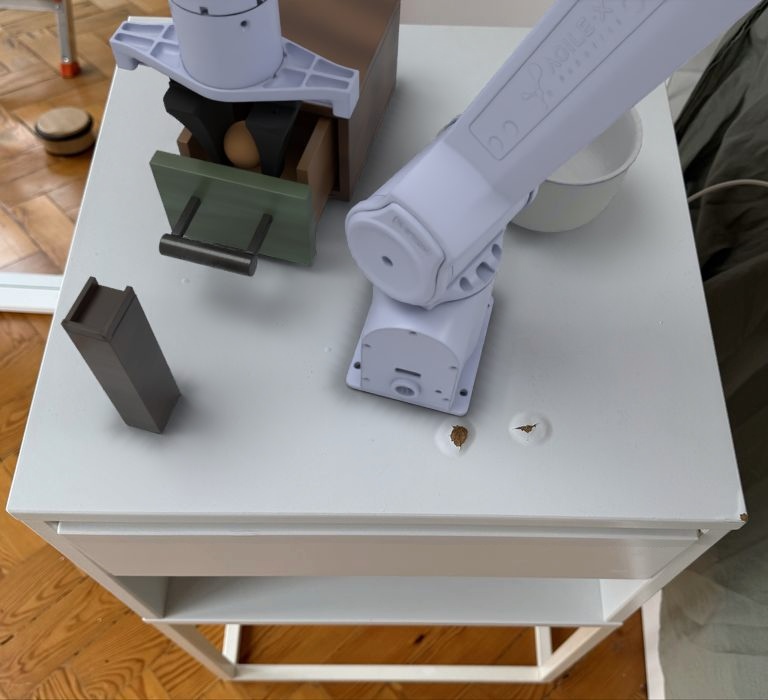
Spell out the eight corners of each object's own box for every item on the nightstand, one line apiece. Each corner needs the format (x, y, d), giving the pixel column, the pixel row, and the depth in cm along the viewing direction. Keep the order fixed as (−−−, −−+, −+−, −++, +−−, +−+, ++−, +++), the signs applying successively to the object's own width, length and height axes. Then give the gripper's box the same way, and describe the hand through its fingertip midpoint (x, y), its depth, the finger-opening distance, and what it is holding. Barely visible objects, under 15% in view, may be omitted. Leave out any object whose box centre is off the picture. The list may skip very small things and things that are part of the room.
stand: (161, 434, 45) (105, 335, 35) (125, 424, 45) (60, 323, 35) (181, 393, 46) (133, 286, 36) (146, 383, 47) (89, 275, 37)
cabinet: (349, 202, 55) (348, 112, 47) (205, 168, 56) (182, 75, 49) (396, 85, 62) (401, -9, 54) (266, 58, 63) (254, -38, 56)
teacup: (605, 154, 58) (639, 71, 51) (614, 262, 53) (652, 184, 46) (432, 138, 59) (442, 52, 52) (423, 243, 53) (432, 163, 46)
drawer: (288, 321, 48) (279, 257, 42) (143, 284, 49) (114, 217, 44) (361, 143, 57) (362, 70, 51) (236, 115, 58) (223, 40, 52)
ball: (261, 183, 48) (257, 149, 45) (219, 171, 48) (212, 136, 46) (278, 152, 49) (275, 117, 47) (237, 140, 50) (232, 105, 47)
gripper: (376, -35, 39) (371, 153, 51) (125, -84, 41) (177, 109, 52) (336, 47, 36) (341, 228, 47) (64, -11, 37) (134, 179, 49)
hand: (252, 170), depth 50 cm, fingers closed on ball, 3 cm apart
